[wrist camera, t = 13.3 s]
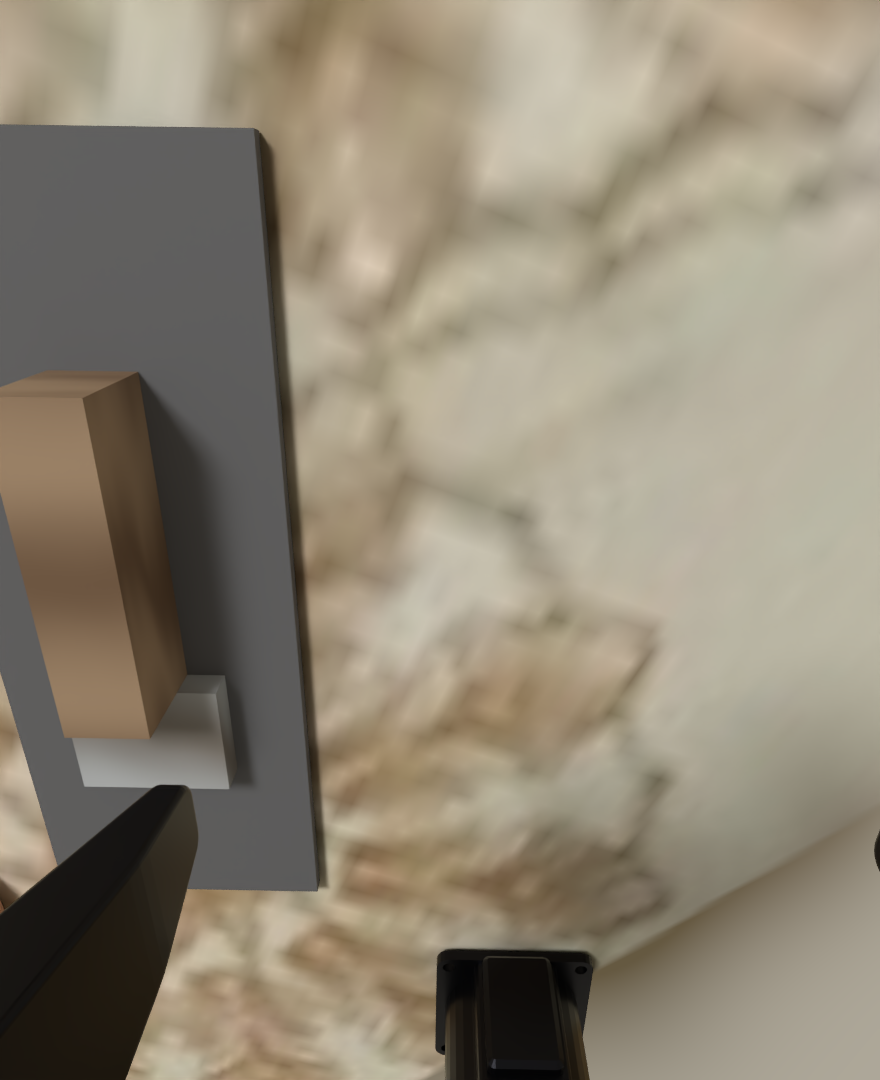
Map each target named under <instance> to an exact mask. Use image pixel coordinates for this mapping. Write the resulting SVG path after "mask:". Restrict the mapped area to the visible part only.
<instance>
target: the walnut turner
mask: <svg viewBox="0 0 880 1080" xmlns="http://www.w3.org/2000/svg"><path fill="white" fill-rule="evenodd" d="M0 493H1V497H2V501H3V505H4V509H5V512H6V516H7V520H8V524H9V528H10V532H11V535H12V539H13V543H14V547H15V551H16V554H17V558H18V562H19V566H20V570H21V574H22V577H23V581H24V585H25V589H26V593H27V597H28V600H29V604H30V608H31V612H32V616H33V619H34V623H35V627H36V631H37V635H38V639H39V642H40V646H41V650H42V654H43V658H44V662H45V665H46V669H47V673H48V677H49V681H50V684H51V688H52V692H53V696H54V700H55V704H56V707H57V711H58V715H59V719H60V723H61V727H62V730H63V734H64V738H72V740H73V744H74V748H75V752H76V756H77V760H78V763H79V767H80V771H81V775H82V779H83V783H84V787H137V788H153V787H155V786H157V785H161V784H162V785H185V786H188V787H189V788H190V789H230V787H231V784H232V781H233V779H234V776H235V774H236V771H237V761H236V754H235V747H234V739H233V732H232V725H231V717H230V710H229V702H228V695H227V688H226V680H225V675H187V669H186V663H185V657H184V651H183V645H182V639H181V632H180V626H179V620H178V614H177V608H176V602H175V595H174V589H173V583H172V577H171V571H170V565H169V558H168V552H167V546H166V540H165V534H164V528H163V522H162V515H161V509H160V503H159V497H158V491H157V485H156V478H155V472H154V466H153V460H152V454H151V448H150V442H149V435H148V429H147V423H146V417H145V411H144V405H143V398H142V392H141V386H140V380H139V374H138V372H124V371H64V370H46V371H44V372H41V373H38V374H35V375H33V376H30V377H27V378H24V379H22V380H19V381H16V382H13V383H11V384H8V385H5V386H2V387H0Z"/></svg>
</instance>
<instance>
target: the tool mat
mask: <svg viewBox="0 0 880 1080" xmlns="http://www.w3.org/2000/svg"><path fill="white" fill-rule="evenodd" d="M46 370H64V371H124V372H138V374H139V380H140V386H141V392H142V398H143V405H144V411H145V417H146V423H147V429H148V435H149V442H150V448H151V454H152V460H153V466H154V472H155V478H156V485H157V491H158V497H159V503H160V509H161V515H162V522H163V528H164V534H165V540H166V546H167V552H168V558H169V565H170V571H171V577H172V583H173V589H174V595H175V602H176V608H177V614H178V620H179V626H180V632H181V639H182V645H183V651H184V657H185V663H186V669H187V675H225V680H226V688H227V695H228V702H229V710H230V717H231V725H232V732H233V739H234V747H235V754H236V761H237V771H236V774H235V776H234V779H233V781H232V784H231V787H230V789H190V788H189V789H190V790H191V793H192V798H193V803H194V809H195V815H196V821H197V826H198V833H199V839H198V848H197V853H196V857H195V860H194V864H193V868H192V872H191V876H190V879H189V883H188V887H187V889H217V890H270V891H318V886H319V881H320V879H319V867H318V854H317V842H316V830H315V817H314V805H313V793H312V780H311V768H310V756H309V743H308V731H307V718H306V706H305V694H304V681H303V669H302V657H301V644H300V632H299V620H298V607H297V595H296V583H295V570H294V558H293V545H292V533H291V521H290V508H289V496H288V484H287V471H286V459H285V447H284V434H283V422H282V410H281V397H280V385H279V372H278V360H277V348H276V335H275V323H274V311H273V298H272V286H271V274H270V261H269V249H268V237H267V224H266V212H265V200H264V187H263V175H262V162H261V150H260V138H259V131H258V130H256V129H254V128H204V127H135V126H66V125H0V387H2V386H5V385H8V384H11V383H13V382H16V381H19V380H22V379H24V378H27V377H30V376H33V375H35V374H38V373H41V372H44V371H46ZM0 672H1V676H2V679H3V682H4V686H5V689H6V692H7V696H8V699H9V703H10V706H11V709H12V713H13V716H14V720H15V723H16V726H17V730H18V733H19V736H20V740H21V743H22V747H23V750H24V753H25V757H26V760H27V764H28V767H29V770H30V774H31V777H32V780H33V784H34V787H35V791H36V794H37V797H38V801H39V804H40V808H41V811H42V814H43V818H44V821H45V825H46V828H47V831H48V835H49V838H50V841H51V845H52V848H53V852H54V855H55V858H56V862H57V865H59V864H61V863H62V862H63V861H64V860H65V859H67V858H68V857H69V856H70V855H71V854H73V853H74V852H75V851H76V850H77V849H79V848H80V847H81V846H82V845H84V844H85V843H86V842H87V841H88V840H90V839H91V838H92V837H93V836H94V835H96V834H97V833H98V832H99V831H100V830H102V829H103V828H104V827H105V826H106V825H108V824H109V823H110V822H111V821H112V820H114V819H115V818H116V817H117V816H119V815H120V814H121V813H122V812H123V811H125V810H126V809H127V808H128V807H129V806H131V805H132V804H133V803H134V802H135V801H137V800H138V799H139V798H140V797H141V796H143V795H144V794H145V793H146V792H148V791H149V790H150V789H151V788H137V787H84V783H83V779H82V775H81V771H80V767H79V763H78V760H77V756H76V752H75V748H74V744H73V740H72V738H64V734H63V730H62V727H61V723H60V719H59V715H58V711H57V707H56V704H55V700H54V696H53V692H52V688H51V684H50V681H49V677H48V673H47V669H46V665H45V662H44V658H43V654H42V650H41V646H40V642H39V639H38V635H37V631H36V627H35V623H34V619H33V616H32V612H31V608H30V604H29V600H28V597H27V593H26V589H25V585H24V581H23V577H22V574H21V570H20V566H19V562H18V558H17V554H16V551H15V547H14V543H13V539H12V535H11V532H10V528H9V524H8V520H7V516H6V512H5V509H4V505H3V501H2V497H1V493H0Z"/></svg>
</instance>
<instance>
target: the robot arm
mask: <svg viewBox="0 0 880 1080" xmlns="http://www.w3.org/2000/svg"><path fill="white" fill-rule="evenodd" d="M198 839H199V833H198V826H197V821H196V815H195V809H194V803H193V798H192V793H191V790H190V789H189V787H188V786H185V785H162V784H161V785H157V786H155V787H153V788H151V789H150V790H149V791H148V792H146V793H145V794H144V795H143V796H141V797H140V798H139V799H138V800H137V801H135V802H134V803H133V804H132V805H131V806H129V807H128V808H127V809H126V810H125V811H123V812H122V813H121V814H120V815H119V816H117V817H116V818H115V819H114V820H112V821H111V822H110V823H109V824H108V825H106V826H105V827H104V828H103V829H102V830H100V831H99V832H98V833H97V834H96V835H94V836H93V837H92V838H91V839H90V840H88V841H87V842H86V843H85V844H84V845H82V846H81V847H80V848H79V849H77V850H76V851H75V852H74V853H73V854H71V855H70V856H69V857H68V858H67V859H65V860H64V861H63V862H62V863H61V864H59V865H58V866H57V867H56V868H55V869H53V870H52V871H51V872H50V873H48V874H47V875H46V876H45V877H44V878H42V879H41V880H40V881H39V882H38V883H36V884H35V885H34V886H33V887H32V888H30V889H29V890H28V891H27V892H26V893H24V894H23V895H22V896H21V897H19V898H18V899H17V900H16V901H15V902H13V903H12V904H11V905H10V906H9V907H7V908H6V909H5V910H4V911H3V912H1V913H0V1080H125V1079H126V1077H127V1074H128V1071H129V1069H130V1066H131V1063H132V1061H133V1058H134V1055H135V1053H136V1050H137V1047H138V1045H139V1042H140V1039H141V1037H142V1034H143V1031H144V1029H145V1026H146V1023H147V1020H148V1018H149V1015H150V1012H151V1010H152V1007H153V1004H154V1002H155V999H156V996H157V994H158V991H159V988H160V985H161V982H162V979H163V976H164V973H165V970H166V966H167V963H168V959H169V956H170V952H171V948H172V945H173V941H174V937H175V933H176V929H177V925H178V922H179V918H180V914H181V910H182V906H183V902H184V899H185V895H186V891H187V887H188V883H189V879H190V876H191V872H192V868H193V864H194V860H195V857H196V853H197V848H198ZM874 852H875V859H876V863H877V866H878V869H879V871H880V831H879V834H878V836H877V839H876V842H875V849H874ZM592 973H593V967H592V962H591V958H590V957H589V956H588V955H586V954H583V953H551V952H500V951H443V952H441V953H440V954H439V955H438V957H437V989H436V1045H435V1048H436V1051H437V1052H438V1053H440V1054H443V1055H445V1080H590V1079H589V1074H588V1067H587V1061H586V1056H585V1049H584V1043H583V1038H582V1037H583V1030H584V1024H585V1018H586V1011H587V1005H588V999H589V992H590V986H591V980H592Z"/></svg>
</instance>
